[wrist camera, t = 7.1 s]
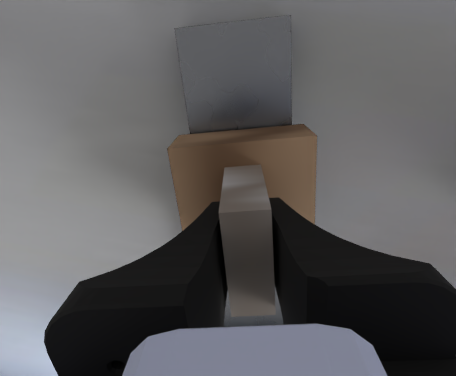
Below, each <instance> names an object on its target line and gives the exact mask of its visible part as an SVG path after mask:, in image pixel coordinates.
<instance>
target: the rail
mask: <svg viewBox="0 0 456 376" xmlns="http://www.w3.org/2000/svg"><path fill="white" fill-rule="evenodd" d="M174 29H175V35H176V42H177V49H178V55H179V62H180V69H181V75H182V82H183V89H184V96H185V102H186V109H187V116H188V122H189V129H190V134H198V133H209V132H220V131H231V130H242V129H253V128H264V127H276V126H287V125H292V111H291V15H285V16H277V17H268V18H260V19H251V20H242V21H234V22H225V23H217V24H208V25H199V26H191V27H182V28H174ZM275 309H276V315H260V316H238V317H231V310H230V302H229V294H228V291H227V299H226V307H225V317H224V327H238V326H263V325H284V324H283V317H282V313H281V308H280V304H279V300H278V296H277V292H276V288H275Z"/></svg>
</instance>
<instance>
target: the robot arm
mask: <svg viewBox="0 0 456 376" xmlns="http://www.w3.org/2000/svg"><path fill="white" fill-rule="evenodd" d="M269 201H270V205H271V211H272V235H273V260H274V284H275V288H276V292H277V296H278V300H279V304H280V308H281V313H282V317H283V324H284V325H263V326H238V327H224V317H225V307H226V299H227V291H228V285H227V277H226V269H225V261H224V253H223V245H222V237H221V229H220V221H219V206H220V201H217V202H211V203H210V205H209V206H208V207H207V208H206V209H205V210H204V211H203V212H202V213H201V214H200V215H199V216H198V217H197V218H196V219H195V220H194V221H193V222H192V223H191V224H190V225H189V226H188V227H187V228H185V229H184V230H183V231H182V232H181V233H180V234H178V235H177V236H176V237H175V238H173V239H172V240H170V241H169V242H167V243H166V244H165V245H163V246H161V247H160V248H158V249H156V250H154V251H153V252H151V253H149V254H147V255H146V256H144V257H142V258H140V259H138V260H136V261H134V262H132V263H129V264H127V265H125V266H122V267H120V268H118V269H115V270H113V271H110V272H107V273H104V274H101V275H99V276H96V277H93V278H90V279H87V280H84V281H80V282H79V283H78V284H77V286H76V287H75V288H74V290H73V291H72V292H71V294H70V295H69V296H68V298H67V299H66V300H65V302H64V303H63V304H62V306H61V307H60V308H59V310H58V311H57V312H56V314H55V315H54V316H53V318H52V319H51V321H50V322H49V324H48V326H47V328H46V330H45V337H44V343H45V346H46V349H47V353H48V355H49V358H50V360H51V362H52V364H53V366H54V368H55V370H56V372H57V374H58V376H456V289H455V288H454V287H453V286H452V285H451V284H450V283H449V282H448V281H447V280H446V279H445V278H444V277H443V276H442V275H441V274H440V273H439V272H438V271H437V270H436V269H435V268H434V267H433V266H432V265H431V264H429V263H424V262H420V261H415V260H410V259H405V258H401V257H396V256H392V255H388V254H384V253H381V252H378V251H374V250H371V249H368V248H365V247H362V246H359V245H356V244H354V243H351V242H349V241H346V240H344V239H341V238H339V237H337V236H335V235H333V234H331V233H329V232H327V231H325V230H323V229H321V228H320V227H318V226H316V225H315V224H313V223H311V222H310V221H308V220H307V219H305V218H304V217H303V216H301V215H300V214H299V213H297V212H296V211H295V210H293V209H292V208H291V207H290V206H289V205H287V204H286V203H285V202H284V201H283V200H282V199H280V198H279V197H276V198H269Z"/></svg>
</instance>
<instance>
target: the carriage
mask: <svg viewBox="0 0 456 376" xmlns="http://www.w3.org/2000/svg"><path fill="white" fill-rule="evenodd" d="M167 150H168V155H169V161H170V166H171V172H172V177H173V182H174V188H175V193H176V199H177V204H178V209H179V215H180V220H181V226H182V231H183V230H184V229H185V228H187V227H188V226H189V225H190V224H191V223H192V222H193V221H194V220H195V219H196V218H197V217H198V216H199V215H200V214H201V213H202V212H203V211H204V210H205V209H206V208H207V207H208V206H209V205H210V203H211V202H217V201H220V206H219V221H220V229H221V237H222V245H223V253H224V261H225V269H226V277H227V285H228V294H229V302H230V310H231V317H238V316H260V315H276V309H275V284H274V260H273V235H272V211H271V205H270V201H269V198H276V197H279V198H280V199H282V200H283V201H284V202H285V203H286V204H287V205H289V206H290V207H291V208H292V209H293V210H295V211H296V212H297V213H299V214H300V215H301V216H303V217H304V218H305V219H307V220H308V221H310V222H311V223H313V224H315V190H316V152H317V135H316V134H314V133H313V132H312V131H311V130H310V129H309V128H307V127H306V126H305V125H304V124H298V125H287V126H276V127H264V128H253V129H242V130H231V131H220V132H209V133H198V134H187V135H179V136H178V137H177V138H176V139H175V140H174V142H173V143H172V144H171V145H170V146H169V147H168V148H167Z"/></svg>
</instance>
